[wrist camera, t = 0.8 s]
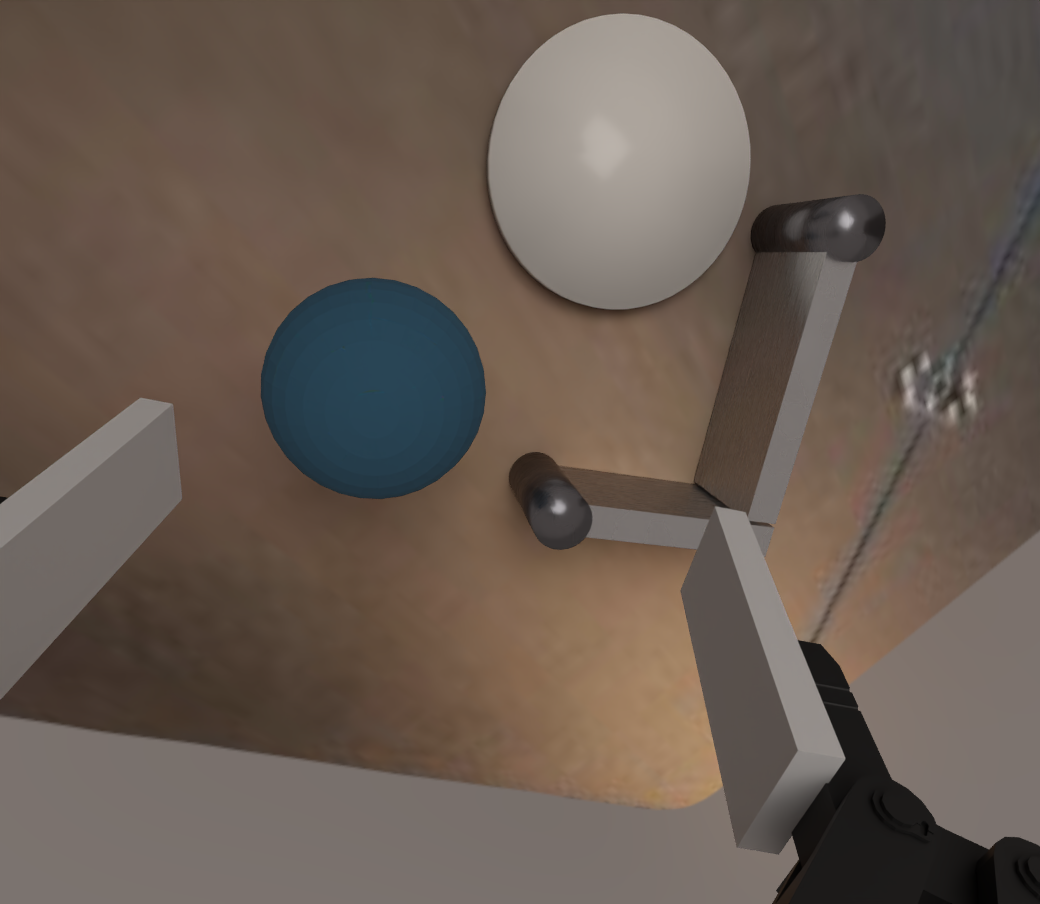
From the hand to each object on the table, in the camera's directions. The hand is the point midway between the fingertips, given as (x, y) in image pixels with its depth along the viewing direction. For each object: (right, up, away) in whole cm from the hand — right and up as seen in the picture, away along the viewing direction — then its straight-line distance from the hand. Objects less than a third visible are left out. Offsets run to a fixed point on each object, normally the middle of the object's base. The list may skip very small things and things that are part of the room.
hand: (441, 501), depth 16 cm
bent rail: (+9, +6, +19) cm, 22 cm away
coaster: (+7, +15, +16) cm, 23 cm away
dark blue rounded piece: (-5, +6, +17) cm, 18 cm away
